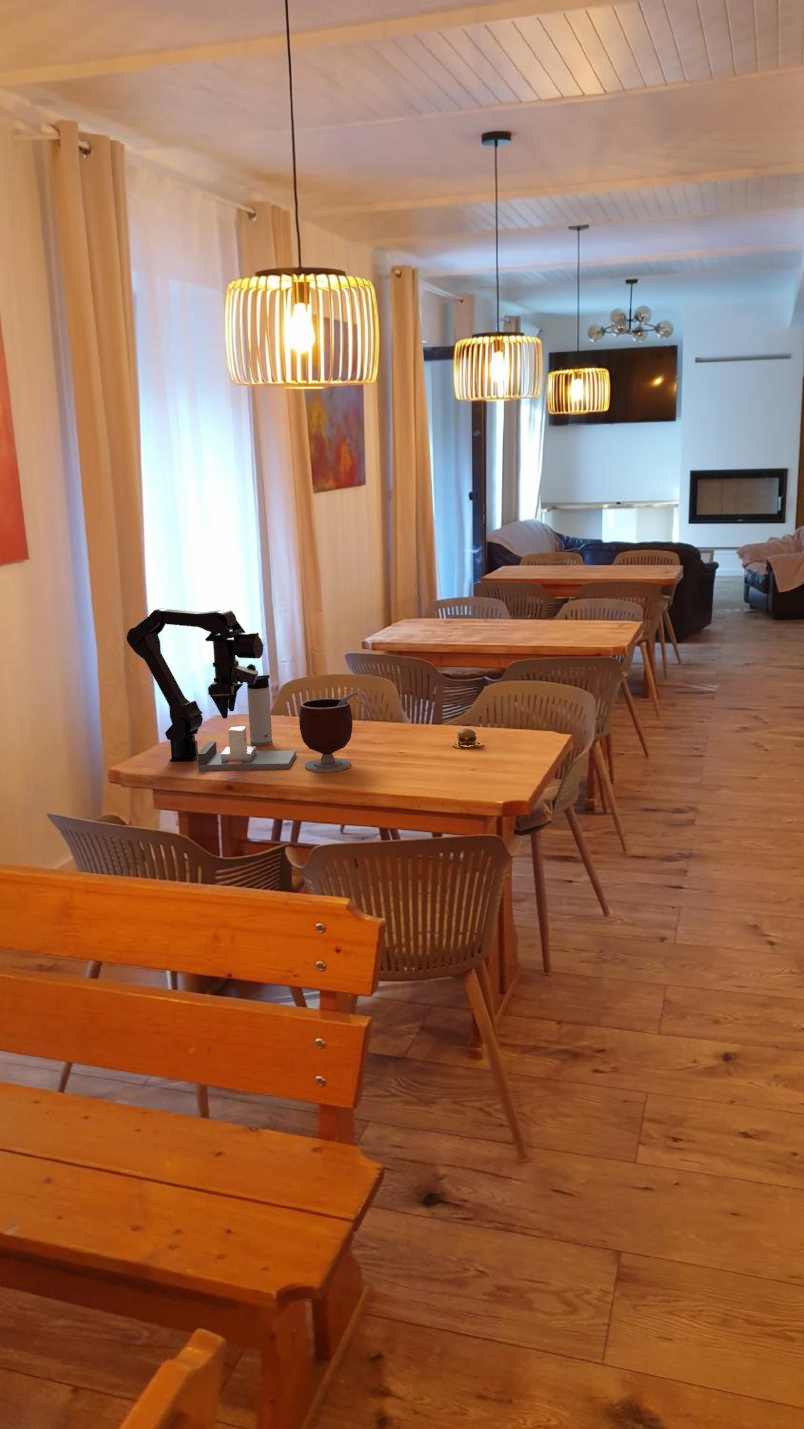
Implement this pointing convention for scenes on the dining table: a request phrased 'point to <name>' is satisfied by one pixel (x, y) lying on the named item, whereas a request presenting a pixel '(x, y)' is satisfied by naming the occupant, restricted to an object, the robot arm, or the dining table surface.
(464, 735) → the hamburger
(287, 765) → the slide board
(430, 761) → the dining table surface
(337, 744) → the mate gourd
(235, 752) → the slider
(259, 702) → the travel mug
